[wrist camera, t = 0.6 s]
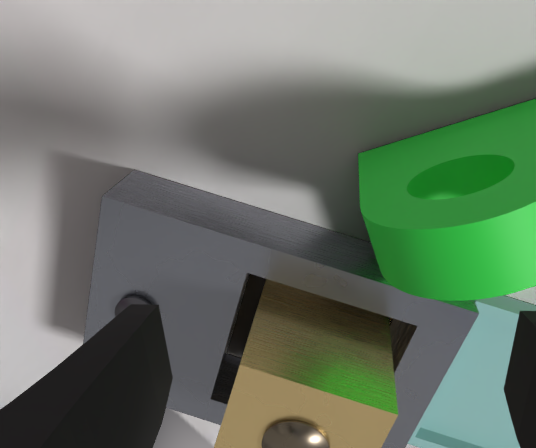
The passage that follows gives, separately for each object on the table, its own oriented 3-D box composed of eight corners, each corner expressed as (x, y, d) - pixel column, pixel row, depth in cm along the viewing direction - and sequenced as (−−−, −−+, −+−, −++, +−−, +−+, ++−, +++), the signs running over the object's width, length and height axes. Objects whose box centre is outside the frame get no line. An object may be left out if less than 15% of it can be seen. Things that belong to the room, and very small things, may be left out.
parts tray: (561, 472, 24) (570, 495, 23) (398, 421, 24) (400, 441, 23) (661, 344, 21) (678, 363, 20) (469, 284, 21) (475, 301, 20)
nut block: (348, 378, 24) (344, 520, 18) (245, 345, 24) (205, 475, 18) (385, 291, 22) (398, 419, 15) (273, 256, 22) (239, 367, 15)
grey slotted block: (384, 425, 25) (388, 484, 22) (108, 337, 25) (75, 384, 22) (463, 271, 21) (481, 318, 18) (134, 169, 21) (98, 199, 18)
